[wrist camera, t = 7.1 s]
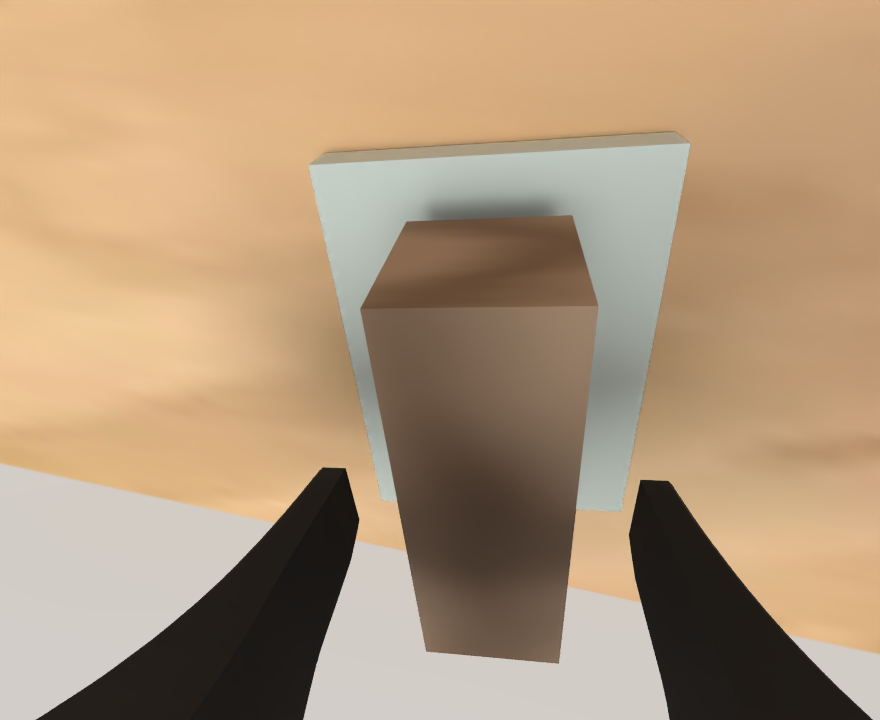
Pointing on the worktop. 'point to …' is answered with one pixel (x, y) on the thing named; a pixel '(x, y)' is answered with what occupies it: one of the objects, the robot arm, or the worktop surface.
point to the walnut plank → (485, 422)
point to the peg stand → (522, 195)
